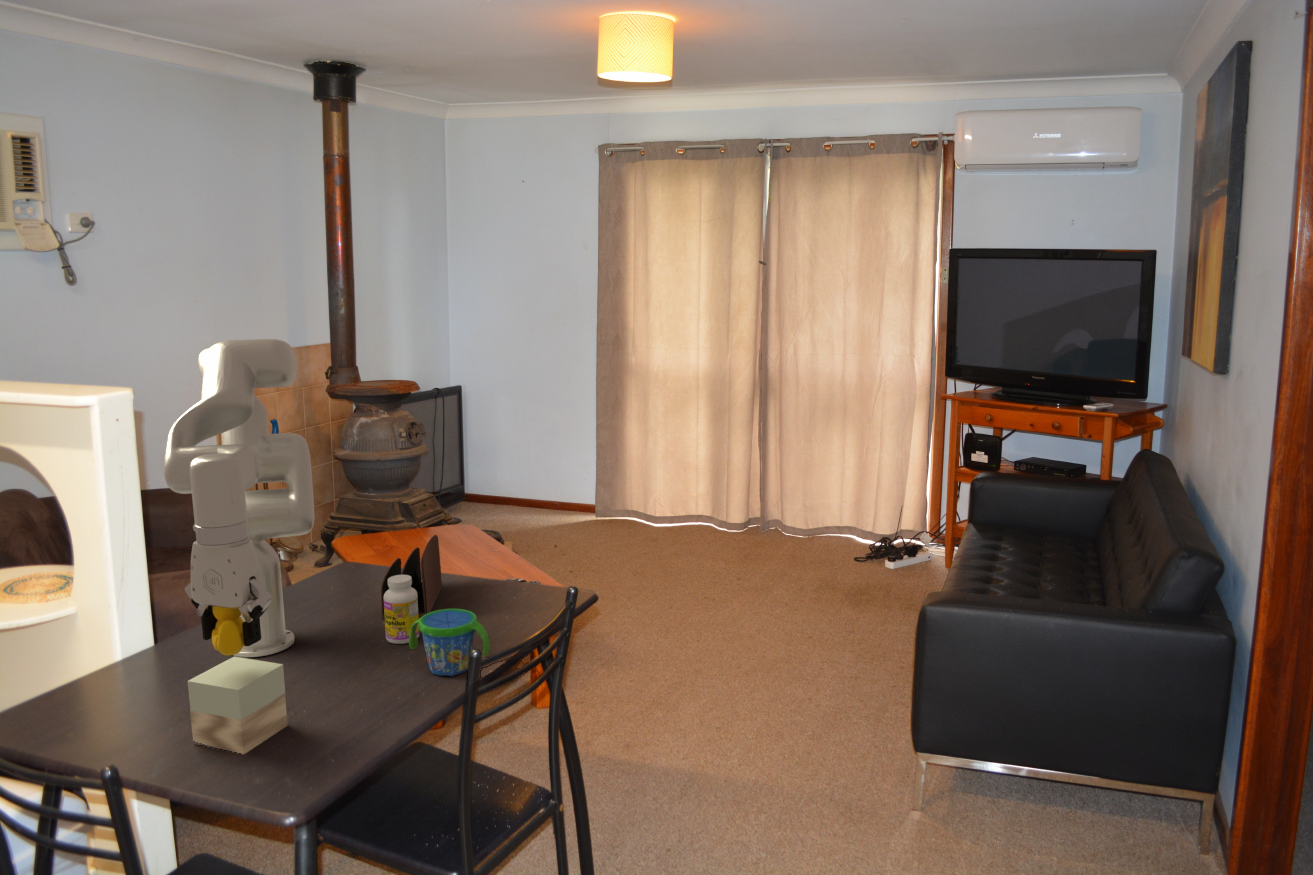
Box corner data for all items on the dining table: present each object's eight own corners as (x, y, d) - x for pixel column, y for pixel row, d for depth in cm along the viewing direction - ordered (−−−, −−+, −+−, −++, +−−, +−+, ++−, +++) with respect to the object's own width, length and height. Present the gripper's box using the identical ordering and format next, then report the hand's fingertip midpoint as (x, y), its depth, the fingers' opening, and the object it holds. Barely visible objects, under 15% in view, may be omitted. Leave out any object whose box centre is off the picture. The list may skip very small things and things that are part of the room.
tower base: (193, 745, 155) (190, 710, 154) (239, 717, 164) (236, 684, 163) (243, 755, 152) (240, 719, 150) (287, 726, 161) (284, 692, 160)
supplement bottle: (378, 642, 195) (375, 581, 193) (399, 630, 201) (395, 571, 199) (406, 647, 193) (402, 585, 190) (426, 635, 199) (423, 575, 196)
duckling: (213, 640, 159) (208, 582, 157) (249, 635, 161) (244, 577, 160) (212, 666, 149) (206, 605, 147) (249, 661, 151) (244, 600, 149)
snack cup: (500, 664, 184) (499, 613, 182) (471, 687, 174) (468, 633, 173) (431, 652, 190) (428, 603, 188) (398, 674, 180) (395, 622, 178)
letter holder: (442, 587, 227) (439, 529, 225) (428, 619, 208) (424, 555, 205) (399, 589, 227) (396, 530, 224) (380, 620, 207) (377, 557, 205)
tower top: (190, 710, 154) (187, 680, 153) (236, 684, 163) (234, 656, 162) (241, 719, 150) (238, 689, 150) (285, 692, 160) (282, 664, 159)
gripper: (159, 534, 151) (171, 642, 154) (250, 544, 145) (260, 655, 148) (196, 522, 158) (206, 625, 161) (284, 531, 152) (293, 637, 155)
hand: (232, 639), depth 154 cm, fingers closed on duckling, 7 cm apart
